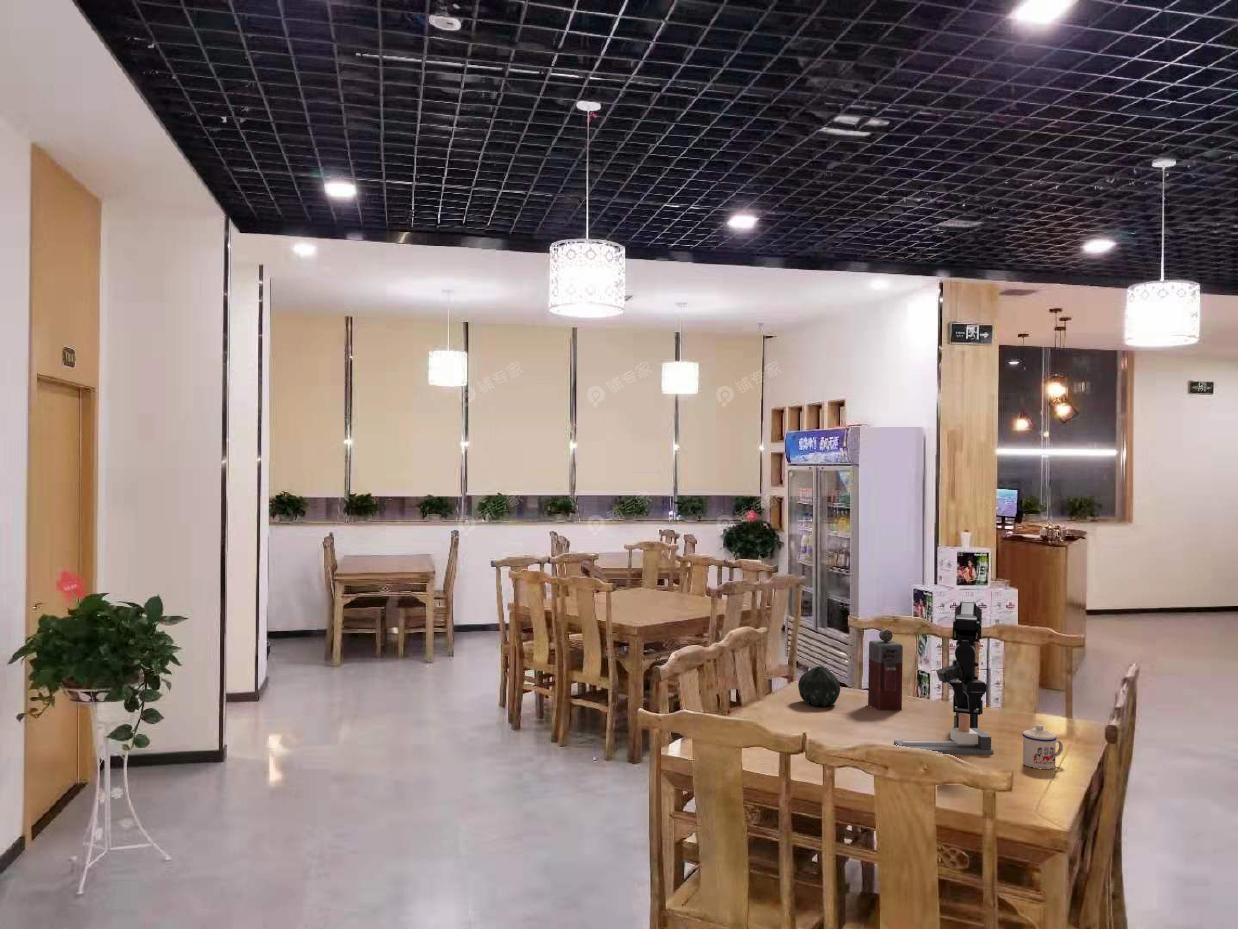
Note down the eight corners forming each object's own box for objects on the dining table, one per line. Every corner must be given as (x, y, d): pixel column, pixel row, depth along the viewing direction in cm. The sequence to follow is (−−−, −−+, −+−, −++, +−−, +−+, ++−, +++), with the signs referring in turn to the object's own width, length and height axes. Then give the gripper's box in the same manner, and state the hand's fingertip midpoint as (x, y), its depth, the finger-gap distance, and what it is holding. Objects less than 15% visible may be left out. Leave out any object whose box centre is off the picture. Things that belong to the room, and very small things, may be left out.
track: (979, 744, 296) (979, 728, 296) (993, 753, 286) (993, 737, 286) (894, 743, 295) (894, 727, 295) (904, 753, 285) (905, 736, 285)
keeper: (969, 738, 294) (969, 712, 294) (978, 744, 288) (978, 717, 288) (950, 738, 294) (950, 711, 294) (958, 744, 287) (958, 717, 287)
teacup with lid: (1034, 771, 270) (1035, 730, 270) (1015, 761, 279) (1016, 721, 279) (1072, 769, 272) (1072, 728, 272) (1052, 759, 281) (1052, 720, 281)
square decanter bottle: (881, 712, 334) (883, 632, 334) (867, 704, 345) (868, 627, 345) (905, 711, 336) (906, 632, 336) (890, 704, 347) (891, 627, 347)
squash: (820, 682, 357) (804, 655, 350) (853, 691, 345) (837, 663, 338) (800, 711, 350) (784, 684, 343) (833, 721, 338) (817, 693, 332)
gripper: (928, 652, 300) (927, 701, 300) (951, 663, 281) (950, 716, 281) (963, 652, 300) (962, 702, 300) (988, 664, 282) (987, 717, 281)
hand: (964, 709), depth 291 cm, fingers open, 9 cm apart
